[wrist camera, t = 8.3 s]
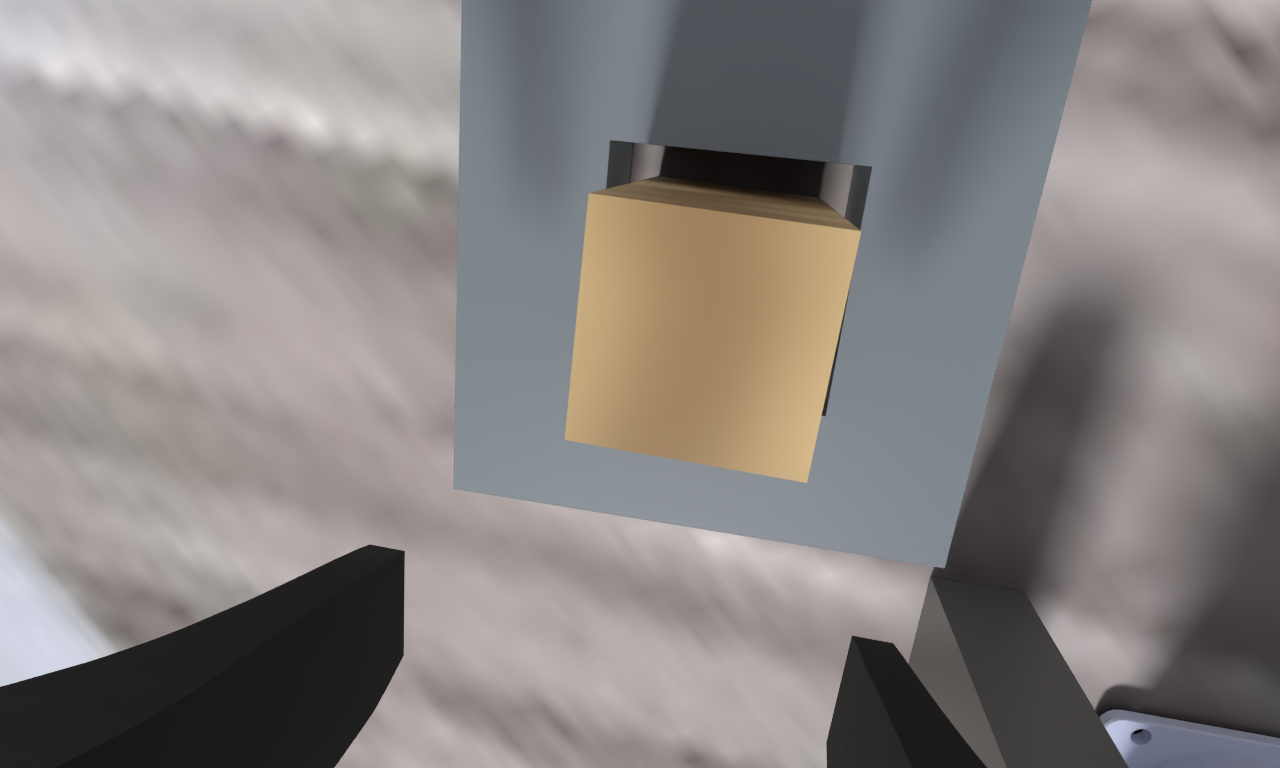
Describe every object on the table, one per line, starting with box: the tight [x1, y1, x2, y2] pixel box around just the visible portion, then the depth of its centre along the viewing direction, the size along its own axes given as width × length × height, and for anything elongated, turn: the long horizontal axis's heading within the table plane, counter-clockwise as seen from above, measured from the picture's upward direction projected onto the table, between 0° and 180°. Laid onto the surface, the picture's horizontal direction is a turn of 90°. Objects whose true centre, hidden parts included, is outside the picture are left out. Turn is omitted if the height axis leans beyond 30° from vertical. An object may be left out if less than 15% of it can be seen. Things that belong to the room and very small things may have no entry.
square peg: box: [565, 176, 861, 483], centre depth 15 cm, size 4×4×8 cm
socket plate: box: [454, 0, 1092, 568], centre depth 17 cm, size 12×12×3 cm
